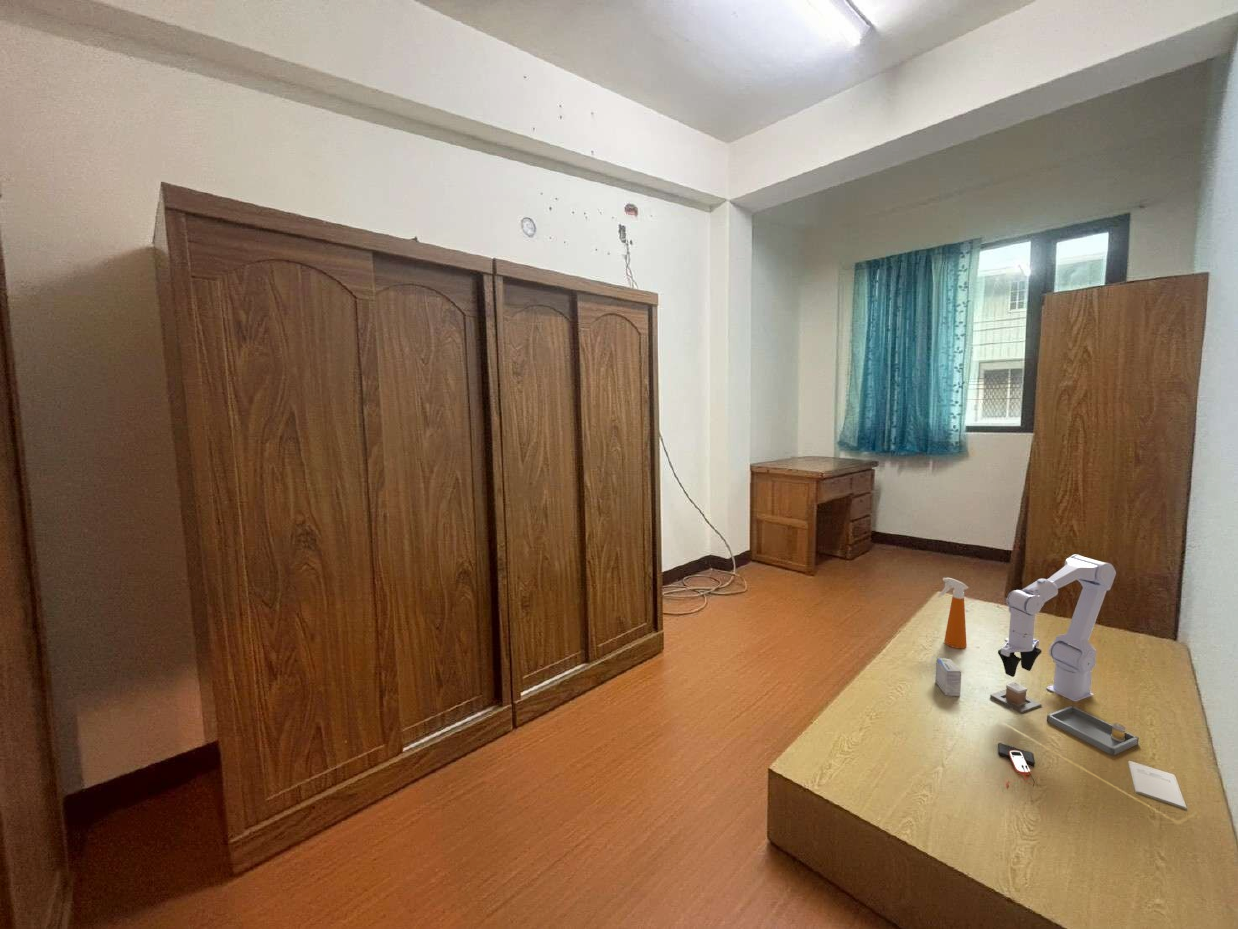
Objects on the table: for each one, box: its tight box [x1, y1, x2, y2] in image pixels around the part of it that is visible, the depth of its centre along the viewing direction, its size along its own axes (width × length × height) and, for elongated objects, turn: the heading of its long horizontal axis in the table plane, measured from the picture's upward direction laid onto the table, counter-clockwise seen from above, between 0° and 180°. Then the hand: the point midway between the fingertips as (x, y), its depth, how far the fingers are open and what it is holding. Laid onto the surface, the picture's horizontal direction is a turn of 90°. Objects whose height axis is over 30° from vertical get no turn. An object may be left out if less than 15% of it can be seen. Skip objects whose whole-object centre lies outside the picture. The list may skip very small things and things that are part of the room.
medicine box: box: [934, 657, 962, 697], centre depth 162 cm, size 8×4×9 cm, turn 168°
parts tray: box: [1046, 705, 1139, 757], centre depth 140 cm, size 11×15×2 cm
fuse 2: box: [1111, 722, 1127, 743], centre depth 137 cm, size 3×3×4 cm
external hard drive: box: [1127, 760, 1188, 810], centre depth 121 cm, size 2×8×12 cm
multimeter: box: [997, 742, 1036, 789], centre depth 126 cm, size 18×12×3 cm, turn 140°
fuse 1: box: [1005, 681, 1028, 706], centre depth 154 cm, size 4×4×6 cm
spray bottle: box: [936, 576, 970, 649], centre depth 189 cm, size 7×11×26 cm, turn 82°
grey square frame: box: [989, 689, 1043, 714], centre depth 154 cm, size 9×9×1 cm
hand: (1018, 672), depth 153 cm, fingers open, 7 cm apart
